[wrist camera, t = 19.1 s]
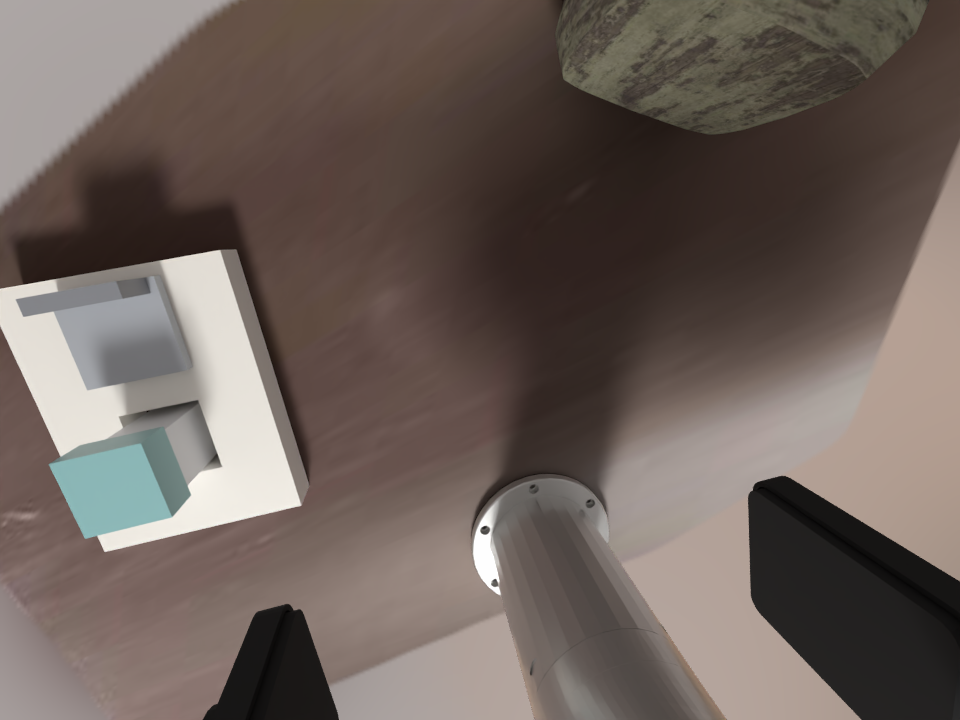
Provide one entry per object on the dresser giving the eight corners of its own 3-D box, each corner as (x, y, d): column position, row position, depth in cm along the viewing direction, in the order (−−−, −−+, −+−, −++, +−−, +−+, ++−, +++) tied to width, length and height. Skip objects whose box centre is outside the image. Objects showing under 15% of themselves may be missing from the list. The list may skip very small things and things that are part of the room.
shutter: (192, 367, 31) (164, 383, 28) (95, 386, 31) (53, 406, 27) (160, 274, 30) (125, 279, 26) (55, 293, 29) (5, 300, 25)
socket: (309, 485, 38) (301, 505, 35) (128, 527, 36) (104, 552, 33) (236, 249, 33) (220, 249, 30) (23, 287, 31) (-16, 291, 28)
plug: (210, 391, 35) (140, 443, 26) (231, 448, 36) (172, 517, 27) (143, 406, 34) (49, 464, 25) (167, 463, 36) (85, 538, 27)
